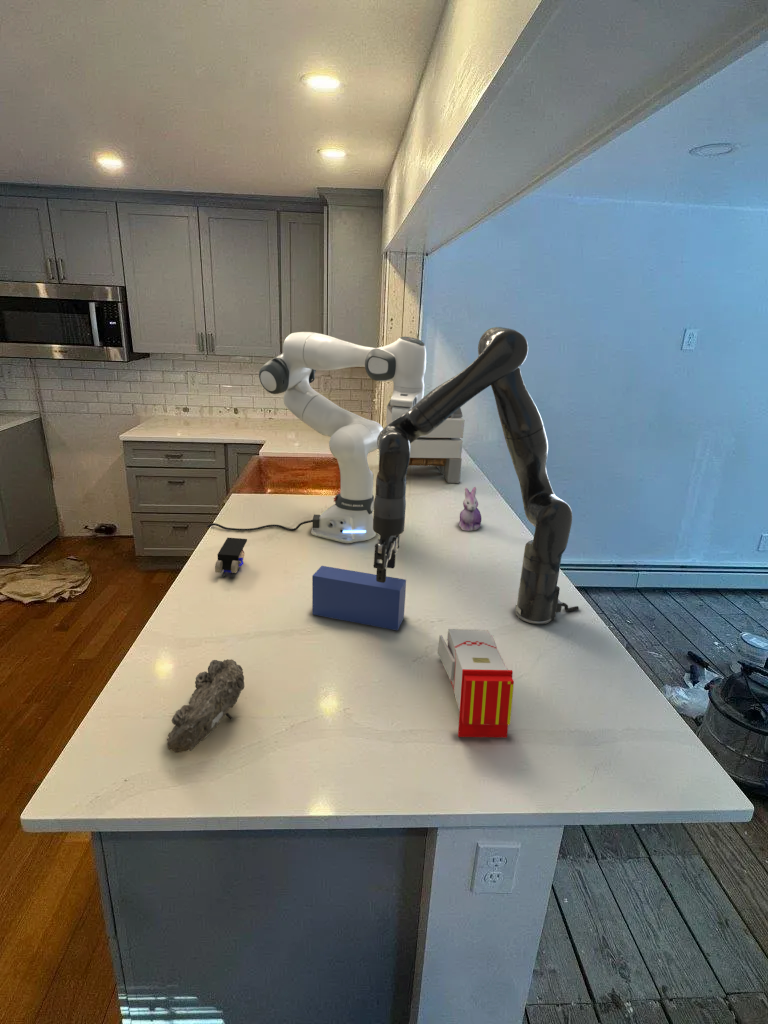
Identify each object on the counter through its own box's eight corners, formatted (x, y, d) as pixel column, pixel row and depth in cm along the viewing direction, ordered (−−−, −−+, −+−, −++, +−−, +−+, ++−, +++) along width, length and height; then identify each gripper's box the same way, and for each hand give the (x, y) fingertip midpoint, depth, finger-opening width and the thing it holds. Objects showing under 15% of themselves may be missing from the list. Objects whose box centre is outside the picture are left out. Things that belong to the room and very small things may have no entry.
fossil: (192, 660, 117) (244, 628, 112) (224, 691, 120) (276, 661, 115) (142, 746, 98) (202, 712, 93) (182, 779, 101) (242, 748, 96)
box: (312, 614, 145) (312, 575, 142) (321, 603, 151) (321, 565, 147) (397, 630, 140) (400, 590, 136) (403, 618, 146) (406, 579, 142)
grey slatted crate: (382, 463, 289) (386, 382, 275) (445, 464, 293) (451, 384, 279) (390, 482, 257) (394, 392, 243) (460, 483, 261) (468, 394, 247)
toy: (488, 613, 130) (523, 677, 101) (484, 667, 133) (517, 744, 104) (435, 612, 130) (455, 676, 101) (432, 666, 133) (451, 743, 103)
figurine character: (238, 584, 162) (249, 557, 175) (236, 562, 158) (247, 536, 172) (215, 584, 161) (227, 556, 175) (212, 561, 158) (225, 535, 171)
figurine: (467, 533, 203) (471, 493, 198) (451, 523, 211) (454, 485, 206) (488, 529, 207) (492, 490, 202) (471, 520, 215) (475, 482, 210)
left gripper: (405, 390, 173) (402, 435, 178) (388, 400, 155) (385, 449, 159) (425, 392, 172) (422, 437, 177) (411, 402, 153) (407, 452, 158)
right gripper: (397, 524, 126) (392, 589, 132) (411, 505, 139) (407, 565, 145) (365, 519, 128) (362, 584, 134) (382, 501, 141) (379, 560, 147)
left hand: (404, 443), depth 168 cm, fingers open, 8 cm apart
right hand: (385, 574), depth 139 cm, fingers open, 8 cm apart
